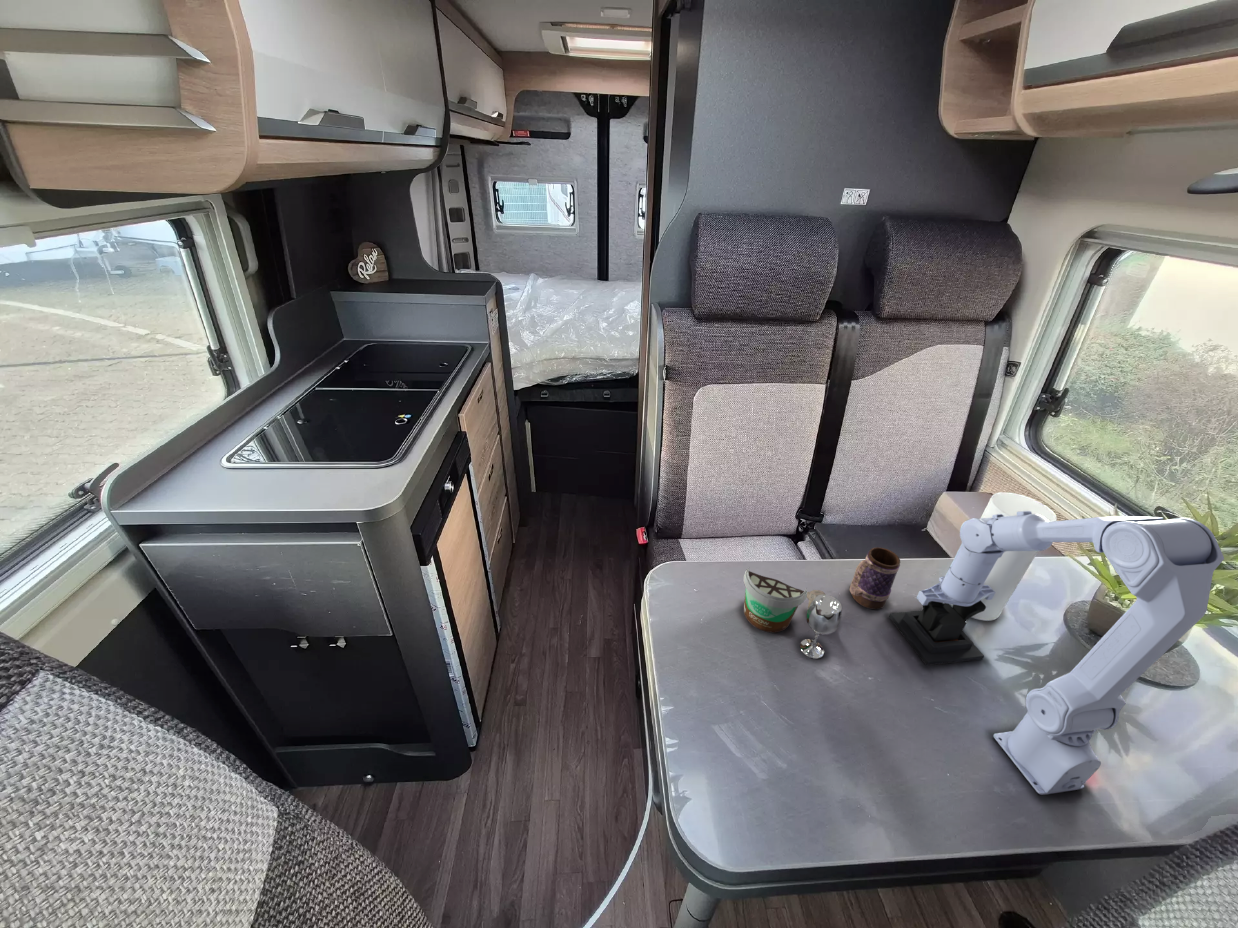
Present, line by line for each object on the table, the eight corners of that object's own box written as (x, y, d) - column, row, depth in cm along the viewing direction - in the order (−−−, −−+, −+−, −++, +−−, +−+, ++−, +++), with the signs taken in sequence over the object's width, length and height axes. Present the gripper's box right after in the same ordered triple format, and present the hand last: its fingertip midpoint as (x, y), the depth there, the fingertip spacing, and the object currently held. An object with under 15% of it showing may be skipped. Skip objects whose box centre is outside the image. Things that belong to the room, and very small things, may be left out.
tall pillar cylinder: (940, 578, 119) (985, 486, 106) (993, 592, 116) (1047, 499, 103) (948, 611, 110) (998, 515, 97) (1005, 626, 107) (1065, 530, 94)
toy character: (816, 611, 111) (816, 584, 110) (840, 627, 103) (840, 599, 103) (799, 614, 110) (799, 587, 109) (822, 630, 102) (822, 601, 102)
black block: (957, 639, 101) (966, 623, 99) (933, 641, 101) (942, 625, 98) (939, 618, 106) (948, 602, 103) (916, 621, 105) (924, 604, 103)
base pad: (982, 659, 100) (988, 649, 98) (926, 665, 98) (931, 655, 97) (940, 611, 110) (945, 602, 109) (888, 616, 108) (893, 606, 107)
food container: (728, 621, 105) (737, 584, 100) (737, 601, 109) (746, 565, 104) (790, 646, 100) (803, 609, 95) (797, 625, 105) (809, 588, 100)
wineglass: (807, 664, 97) (823, 618, 91) (790, 639, 102) (805, 594, 95) (833, 658, 98) (851, 613, 92) (816, 634, 103) (832, 589, 97)
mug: (868, 582, 116) (885, 540, 110) (893, 605, 111) (912, 562, 105) (831, 593, 113) (847, 551, 107) (855, 617, 107) (873, 574, 101)
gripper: (986, 556, 100) (958, 607, 107) (917, 561, 98) (893, 612, 105) (1015, 582, 94) (983, 634, 101) (942, 588, 92) (916, 641, 99)
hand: (939, 625), depth 102 cm, fingers closed on black block, 5 cm apart
